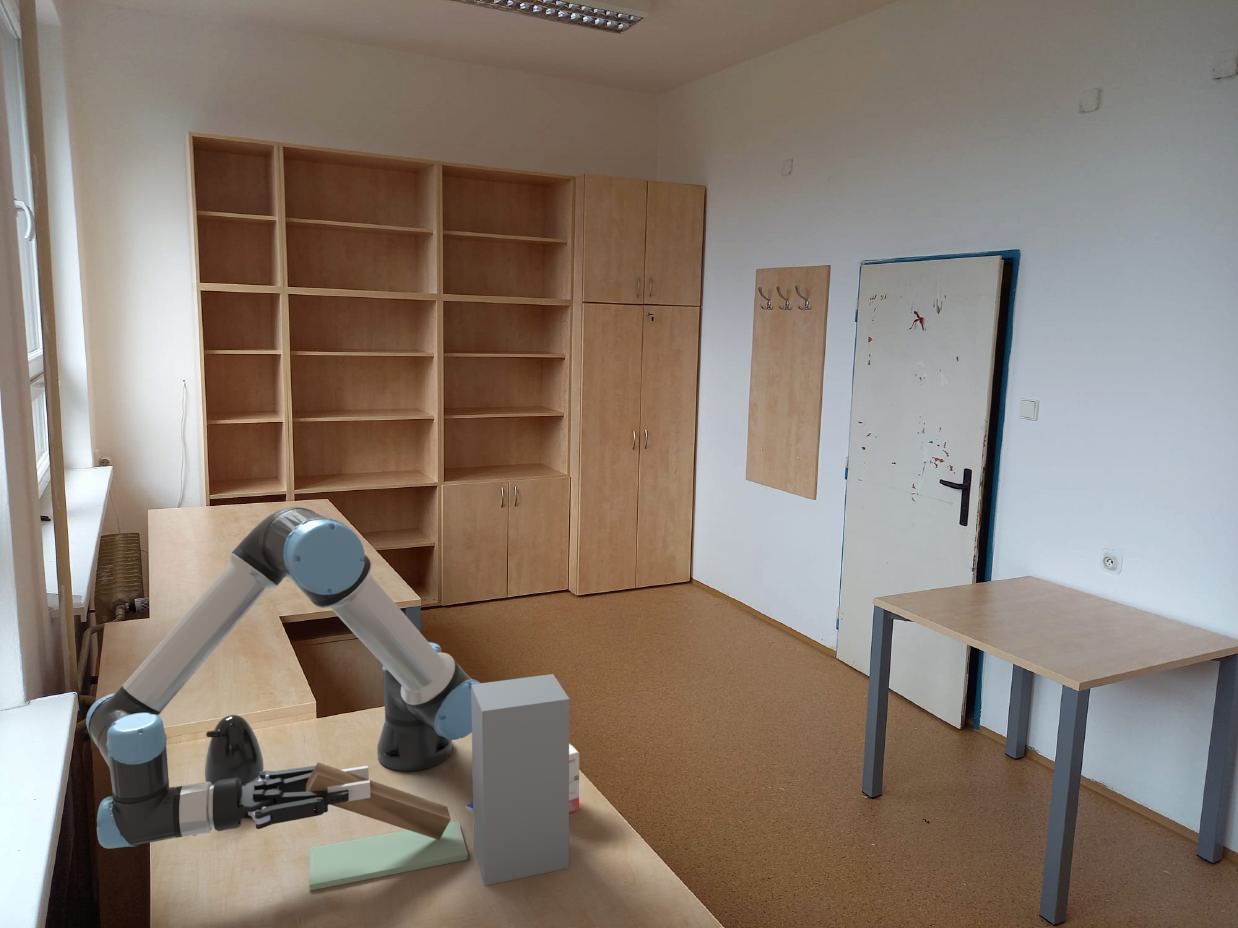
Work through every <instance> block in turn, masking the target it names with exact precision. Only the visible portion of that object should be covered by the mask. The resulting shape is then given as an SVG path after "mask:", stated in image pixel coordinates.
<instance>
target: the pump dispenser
mask: <svg viewBox="0 0 1238 928" xmlns="http://www.w3.org/2000/svg"><path fill="white" fill-rule="evenodd" d="M205 736H206V737H207V738H210V739H209V744H208V746H207V747H208V748H207V753H206V757H205V763H204V764H205V765H204V767H205V768H204V779H205V782H209V781H210V782H211V783H212V785H214V784H215V782H217V780H224V779H230V778H240V780H241V783H242V784H243V785H245V784H248V783H251V782H254V781H258V780H259V779H260V772H262V771H264V769H265V768H264V767H265V766H264V765H265V764H264V759H263V754H262V749H261V746H260V743H259V741H258V738H257V736H256V734H255V732H254V730H253V728H252V726H251V725H250V723H249V722H248V721H247V719H245V718H244V717H243V716H241V715H239V714H238V715H237V714H229V715H227V716H224V717H223V718H221V719H220V720H219V721H218V722H217V724H216V725H215V728H214V729H213V730H208V731H207V732H206V733H205Z"/></svg>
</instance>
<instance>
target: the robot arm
mask: <svg viewBox="0 0 1238 928" xmlns="http://www.w3.org/2000/svg"><path fill="white" fill-rule="evenodd" d="M371 571H372V561H371V559H370V558H369V557H368V556H367V554H366V553H365V548H364V544H363V543H362V541H361V540H360V537H359V536H358V535H357V534H356V533H355V532H354V531H353V530H352V529H351V528H350V527H349V526H348V525H346V524H345V523H343V522H341V521H338V520H337V519H334V518H329V517H326V516H323V515H322V514H319V513H317V512H315V511H314V510H311V509H309V508H305V507H299V506H291V507H286V508H282V509H279V510H277V511H275V512H273V513H272V514H270V515H268V516H266V517H265V518H263V520H261V521H260V522H259V523H258V524H257V525H256V526H255V527H254V528H253V529H252V530H251V531H250V532H249V533H248V534H247V535H246V536H245V537H244V538H243V539H241V542H239V544H238V545H237V546H236V547H235V548H234V549H233V551H232V552H231V553H230V563H229V564H228V565H227V566H226V567H225V569H224V570H223V571H222V572H221V573H220V575H219V576H218V577H217V578H216V579H215V580H214V581H213V582H212V583H211V585H210V586H209V587H208V588H207V589H206V590H205V592H203V594H202V595H201V596H200V597H198V600H196V602H195V603H194V604H193V605H192V606H191V607H190V608H189V609H188V611H187V612H186V613H185V614H184V615H183V616H182V617H181V619H179V621H178V622H177V623H176V625H174V626H173V627H172V629H171V630H169V632H168V634H167V635H166V636H165V637H164V638H163V639H162V640H161V641H160V643H158V645H157V646H156V647H155V648H154V650H153V651H152V652H151V653H150V654H149V655H148V656H147V657H146V658H145V659H144V660H143V662H142V663H141V664H140V665H139V666H138V668H137V669H135V671H134V672H133V673H132V674H131V675H130V677H128V679H127V680H126V681H125V682H124V683H123V684H122V685H121V687H120V688H118V690H117V691H116V692H115V693H111V694H107V695H105V696H103V697H101V698H99V699H98V700H96V701H95V702H93V704H92V705H91V706H90V708H89V709H88V711H87V714H86V717H85V725H86V727H87V731H88V735H89V737H90V739H91V741H92V742H93V743H94V744H95V745H96V746H97V748H98V750H99V752H100V754H101V756H102V758H103V759H104V761H105V763H106V764H107V766H108V767H109V768H108V769H109V772H110V778H111V779H110V780H111V787H112V795H111V796H106V797H105V798H103V799H102V800H101V802H100V804H99V807H98V810H97V815H96V816H97V817H96V823H97V825H96V826H97V827H96V833H97V834H96V835H97V840H98V842H99V845H100V846H101V847H103V848H105V849H116V848H117V849H118V848H124V847H137V846H139V845H144V844H149V843H155V842H160V841H165V840H170V839H176V838H178V839H179V838H183V837H188V836H189V837H190V836H193V837H196V836H197V835H202V834H207V833H211V831H213V829H214V830H215V831H217V832H221V831H228V830H233V829H239V828H240V827H241V825H242V824H243V823H242V822H243V820H251V821H252V820H254V822H255V828H256V829H257V830H260V829H264V828H266V827H270V826H271V825H276V824H280V823H286V822H287V823H288V822H292V821H296V820H301V819H309V818H312V817H313V818H314V817H318V816H322V815H323V814H325V813H327V812H328V811H329V805H330V804H336V803H342V802H348V801H354V800H360V799H366V798H370V779H369V765H363V766H357V767H350V768H343V769H341V770H342V771H345V772H348V773H351V774H354V775H357V776H360V777H362V778H365V779H368V780H367V781H361V782H354V783H348V784H342V785H336V786H330V787H328V793H327V791H308V792H306V783H307V781H308V779H309V777H310V775H311V774H312V772H313V770H314V768H315V766H316V765H310V766H303V767H302V766H301V767H296V768H289V769H281V770H263V771H262V772H260V779H259V780H258V781H254V782H251V783H248V784H245V785H243V784H242V783H241V780H240V778H230V779H224V780H217V782H215V784H214V785H212V783H211V782H210V781H209V782H206V781H204V782H198V783H191V784H186V785H179V786H170V778H169V767H168V764H169V763H168V753H167V740H168V737H167V734H166V732H165V726H164V720H163V718H162V717H161V716H160V715H161V713H162V711H163V710H164V709H165V708H166V707H167V706H168V704H169V703H170V702H171V701H172V700H173V699H174V698H175V696H176V695H177V694H178V693H179V691H180V690H182V689H183V688H184V686H185V685H186V683H187V682H188V681H189V680H190V679H191V678H192V677H193V675H194V674H195V673H196V672H197V671H198V670H199V669H200V668H201V666H202V665H203V664H204V663H205V661H207V659H208V658H209V657H210V656H211V655H212V653H213V652H214V651H215V650H216V649H217V648H218V647H219V645H220V644H221V643H222V642H223V641H224V640H225V639H226V637H227V636H228V634H230V632H231V631H232V630H233V629H234V628H235V627H236V626H237V624H239V622H240V621H241V619H242V618H244V616H245V615H246V614H247V613H248V611H249V610H250V609H251V608H252V607H253V605H254V604H256V603H257V601H258V600H259V599H260V597H261V596H263V594H264V593H265V592H266V591H267V590H268V589H275V588H277V587H278V586H279V585H280V583H282V581H283V580H284V579H285V578H288V579H290V581H292V583H293V584H295V586H297V588H298V589H299V590H300V591H301V592H302V593H303V594H304V595H305V596H306V597H307V598H308V599H309V601H310V602H312V604H313V605H314V606H315V607H317V608H321V609H326V608H330V609H331V611H332V612H333V613H334V614H336V616H337V617H338V618H339V619H340V620H341V621H342V622H343V623H344V625H346V627H347V628H348V629H349V630H350V631H351V632H352V633H353V634H354V635H355V636H356V638H357V639H358V640H360V642H361V643H362V645H364V646H365V647H366V648H367V649H368V650H369V651H370V653H371V654H373V656H374V657H375V658H376V659H377V661H378V662H380V663H381V664H382V669H381V670H382V678H383V698H384V699H383V701H384V723H383V726H382V730H381V733H380V735H379V739H378V742H377V748H376V749H377V753H376V754H377V760H378V762H379V763H380V764H381V765H382V766H384V767H386V768H388V769H390V770H395V771H400V772H401V771H402V772H412V771H413V772H414V771H415V772H416V771H422V770H426V769H430V768H432V767H435V766H438V765H440V764H441V763H443V762H445V761H446V760H447V759H449V757H450V756H451V754H452V751H453V741H454V740H459V739H464V738H466V737H468V736H469V735H470V734H472V709H471V685H472V684H480V683H481V682H480V681H479V680H476V679H473V678H472V677H470V676H469V675H468V674H467V673H466V671H464V670H463V668H462V666H461V665H459V664H458V662H457V661H456V660H455V659H454V658H453V656H451V654H449V653H447V652H442V648H441V646H440V645H439V644H438V643H435V642H430V641H428V640H427V639H426V638H425V637H424V635H423V634H422V633H421V631H419V629H418V628H417V627H416V626H415V625H414V624H413V622H412V621H411V620H410V619H409V617H408V616H407V615H406V614H405V612H403V611H402V609H400V608H399V606H398V605H397V603H395V601H394V600H393V599H392V598H391V597H390V595H389V594H388V593H387V592H386V591H385V590H384V588H383V587H382V586H381V585H380V584H379V583H378V582H377V581H376V579H375V578H374V577H373V576H372V575H371ZM330 806H331V805H330Z"/></svg>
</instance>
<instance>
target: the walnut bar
mask: <svg viewBox="0 0 1238 928" xmlns="http://www.w3.org/2000/svg"><path fill="white" fill-rule="evenodd" d="M314 766H315V768H314V770H313V772H312V774H311V775H310V777H309V779H308V781H307V783H306V792H308V791H327V793H328V787H330V786H336V785H342V784H348V783H354V782H361V781H367V780H368V779H365V778H362V777H360V776H357V775H354V774H351V773H348V772H345V771H342V770H343V769H340V768H339V769H338V768H336V767H333V766H330V765H327V764H325V763H322V762H320V761H319V762H316V765H314ZM369 780H370V779H369ZM330 806H334V807H336V808H339V809H343V810H346V811H349V812H351V813H355V814H358V815H361V816H364V817H367V818H369V819H373V820H376V821H379V822H382V823H386V824H389V825H391V826H394V827H397V828H400V829H404V830H410V831H413V832H416V833H419V834H422V835H425V836H428V837H431V838H434V839H437V840H440V838H441V836H442V835H443V833H444V831H445V829H446V827H447V825H448V824H449V822H450V821H451V815H450V810H449V808H448V806H446V805H444V804H440V803H438V802H435V801H433V800H429V799H426V798H424V797H420V796H418V795H415V794H412V793H409V792H405V791H403V790H399V789H397V788H394V787H392V786H389V785H387V784H386V785H385V784H382V783H381V782H380V783H379V782H377V781H374V780H370V798H366V799H360V800H354V801H348V802H342V803H336V804H330Z"/></svg>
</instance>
